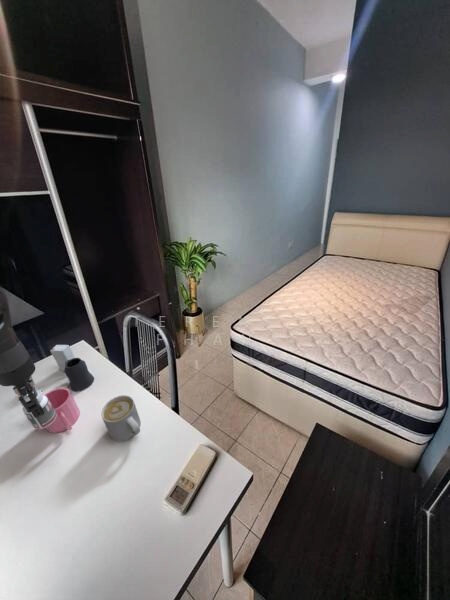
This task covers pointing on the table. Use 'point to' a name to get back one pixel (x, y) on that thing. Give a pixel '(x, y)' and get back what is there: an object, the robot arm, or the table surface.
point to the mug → (78, 374)
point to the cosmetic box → (62, 355)
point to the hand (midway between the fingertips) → (37, 407)
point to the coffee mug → (121, 418)
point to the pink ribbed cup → (62, 410)
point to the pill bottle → (46, 417)
